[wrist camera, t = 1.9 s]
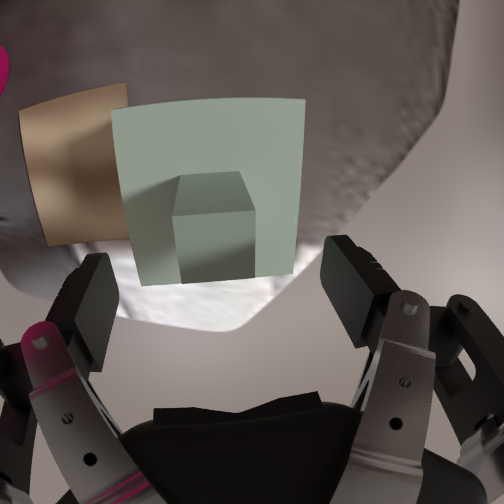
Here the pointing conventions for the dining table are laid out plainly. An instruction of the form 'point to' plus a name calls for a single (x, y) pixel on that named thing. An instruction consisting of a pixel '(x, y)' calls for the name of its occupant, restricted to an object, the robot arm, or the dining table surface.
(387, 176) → the dining table surface
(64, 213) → the cork mat
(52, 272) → the dining table surface
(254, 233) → the lid
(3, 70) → the pepper mill
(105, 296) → the robot arm
